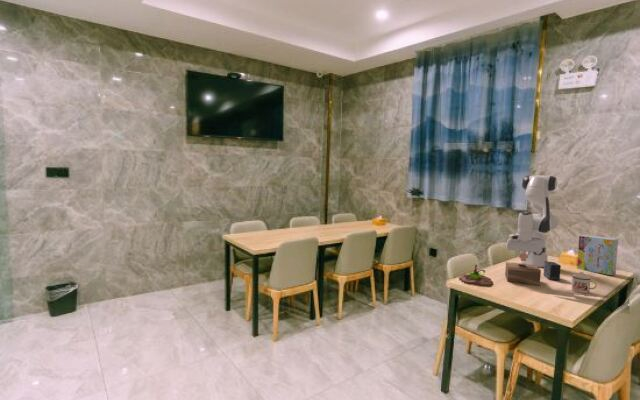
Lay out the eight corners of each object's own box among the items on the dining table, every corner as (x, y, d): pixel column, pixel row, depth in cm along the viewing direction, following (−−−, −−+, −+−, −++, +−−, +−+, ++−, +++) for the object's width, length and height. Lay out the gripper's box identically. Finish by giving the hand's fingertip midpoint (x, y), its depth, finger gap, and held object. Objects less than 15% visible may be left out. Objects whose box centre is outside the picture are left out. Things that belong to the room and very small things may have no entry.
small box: (560, 280, 235) (561, 265, 234) (549, 280, 236) (550, 264, 235) (553, 276, 245) (554, 261, 244) (542, 275, 246) (543, 260, 246)
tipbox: (505, 276, 242) (506, 262, 241) (535, 279, 235) (536, 265, 235) (507, 282, 229) (508, 266, 228) (539, 285, 222) (540, 270, 222)
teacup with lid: (570, 291, 213) (571, 272, 212) (572, 287, 220) (573, 269, 219) (595, 295, 205) (597, 276, 205) (596, 292, 212) (598, 273, 212)
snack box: (616, 274, 254) (619, 239, 253) (611, 276, 250) (614, 240, 248) (580, 267, 272) (583, 234, 271) (576, 269, 267) (578, 235, 266)
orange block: (520, 259, 234) (520, 251, 233) (524, 259, 233) (525, 252, 233) (521, 261, 229) (522, 253, 229) (525, 261, 228) (526, 253, 228)
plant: (491, 280, 233) (492, 263, 233) (493, 288, 215) (494, 270, 215) (459, 276, 241) (460, 260, 240) (458, 284, 223) (459, 266, 223)
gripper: (542, 237, 229) (540, 258, 230) (506, 234, 237) (505, 255, 238) (544, 238, 223) (542, 260, 224) (507, 236, 231) (506, 257, 232)
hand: (523, 257), depth 231 cm, fingers closed on orange block, 2 cm apart
